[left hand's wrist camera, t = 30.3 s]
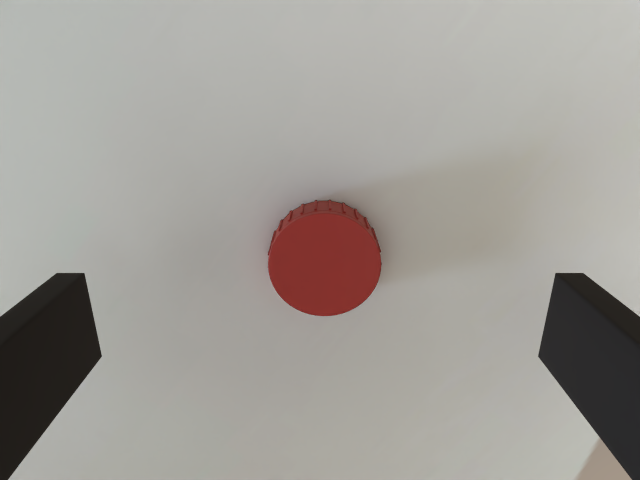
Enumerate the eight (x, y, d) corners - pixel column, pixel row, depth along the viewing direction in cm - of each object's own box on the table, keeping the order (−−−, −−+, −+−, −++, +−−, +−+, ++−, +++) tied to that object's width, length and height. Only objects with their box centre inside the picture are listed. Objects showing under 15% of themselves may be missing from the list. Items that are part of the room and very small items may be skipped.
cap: (278, 301, 17) (274, 321, 16) (263, 204, 16) (258, 217, 15) (380, 293, 17) (385, 313, 16) (374, 194, 16) (379, 206, 14)
